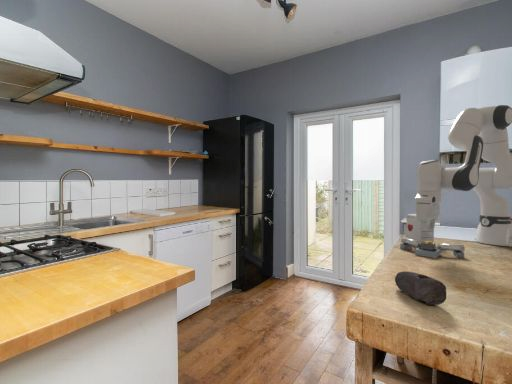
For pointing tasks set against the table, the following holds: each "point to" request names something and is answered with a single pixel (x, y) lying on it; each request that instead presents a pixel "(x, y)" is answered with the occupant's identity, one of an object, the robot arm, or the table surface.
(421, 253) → the housing
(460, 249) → the shaft
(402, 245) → the shaft
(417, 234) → the supplement box
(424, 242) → the block
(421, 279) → the perforated stone tool
